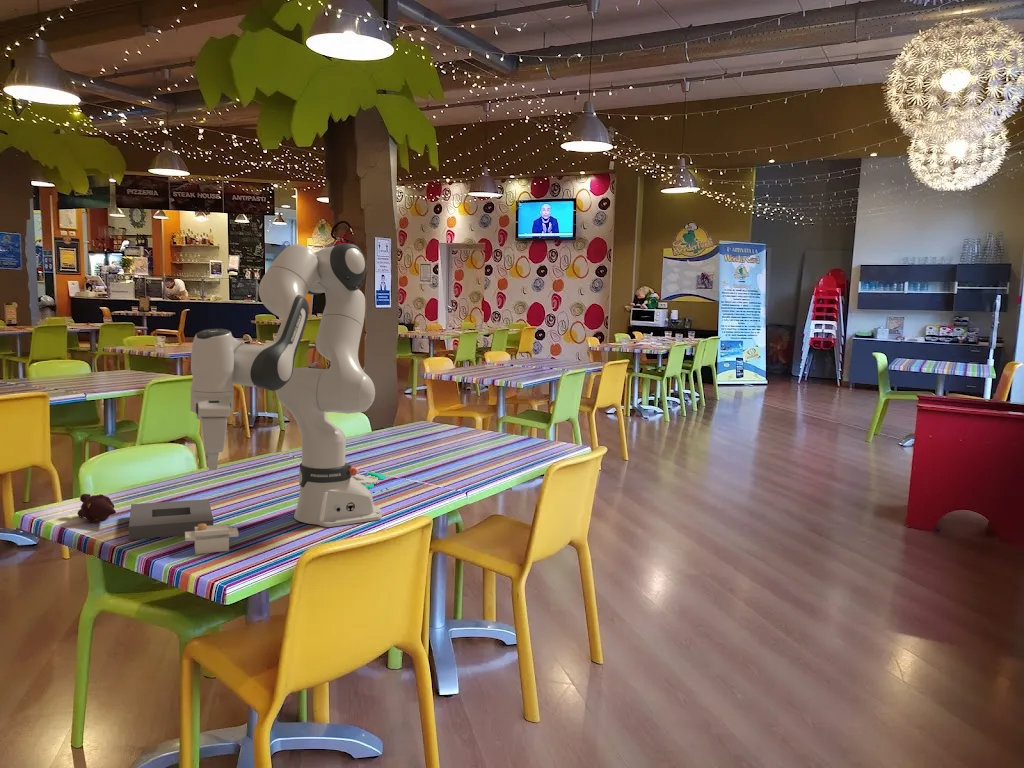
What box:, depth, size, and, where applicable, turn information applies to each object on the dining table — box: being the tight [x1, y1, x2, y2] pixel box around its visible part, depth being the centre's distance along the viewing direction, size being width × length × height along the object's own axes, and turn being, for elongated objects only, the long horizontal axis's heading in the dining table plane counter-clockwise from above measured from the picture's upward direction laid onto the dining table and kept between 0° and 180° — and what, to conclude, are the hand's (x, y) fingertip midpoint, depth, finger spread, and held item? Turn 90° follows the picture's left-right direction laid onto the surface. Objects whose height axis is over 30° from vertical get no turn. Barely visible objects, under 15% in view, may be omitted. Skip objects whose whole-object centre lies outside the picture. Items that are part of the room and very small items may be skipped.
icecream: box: [77, 493, 117, 524], centre depth 181 cm, size 7×7×15 cm
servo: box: [184, 523, 240, 555], centre depth 167 cm, size 11×4×6 cm, turn 115°
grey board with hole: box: [128, 498, 214, 541], centre depth 182 cm, size 18×18×3 cm
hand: (211, 464), depth 165 cm, fingers open, 8 cm apart
